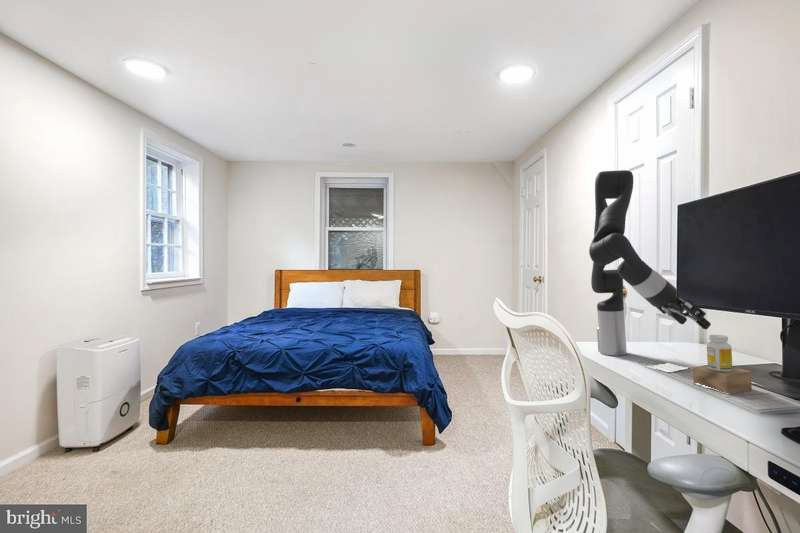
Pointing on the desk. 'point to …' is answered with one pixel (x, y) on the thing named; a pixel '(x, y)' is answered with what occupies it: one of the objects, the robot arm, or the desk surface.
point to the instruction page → (650, 367)
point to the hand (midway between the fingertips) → (695, 324)
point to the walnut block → (723, 379)
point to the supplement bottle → (719, 353)
